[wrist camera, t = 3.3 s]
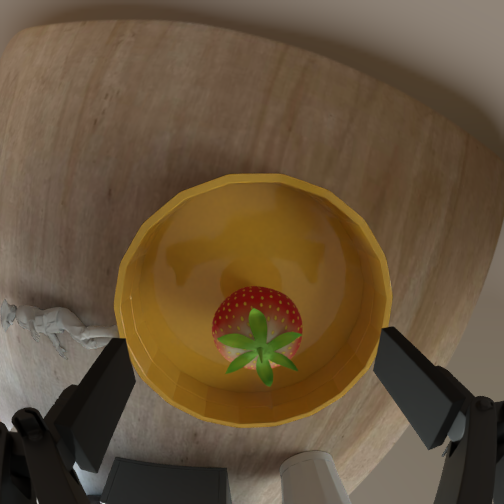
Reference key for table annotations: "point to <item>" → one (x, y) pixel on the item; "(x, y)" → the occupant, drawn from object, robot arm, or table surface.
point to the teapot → (94, 499)
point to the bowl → (244, 275)
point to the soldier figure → (56, 325)
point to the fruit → (257, 331)
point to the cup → (311, 480)
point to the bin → (164, 484)
